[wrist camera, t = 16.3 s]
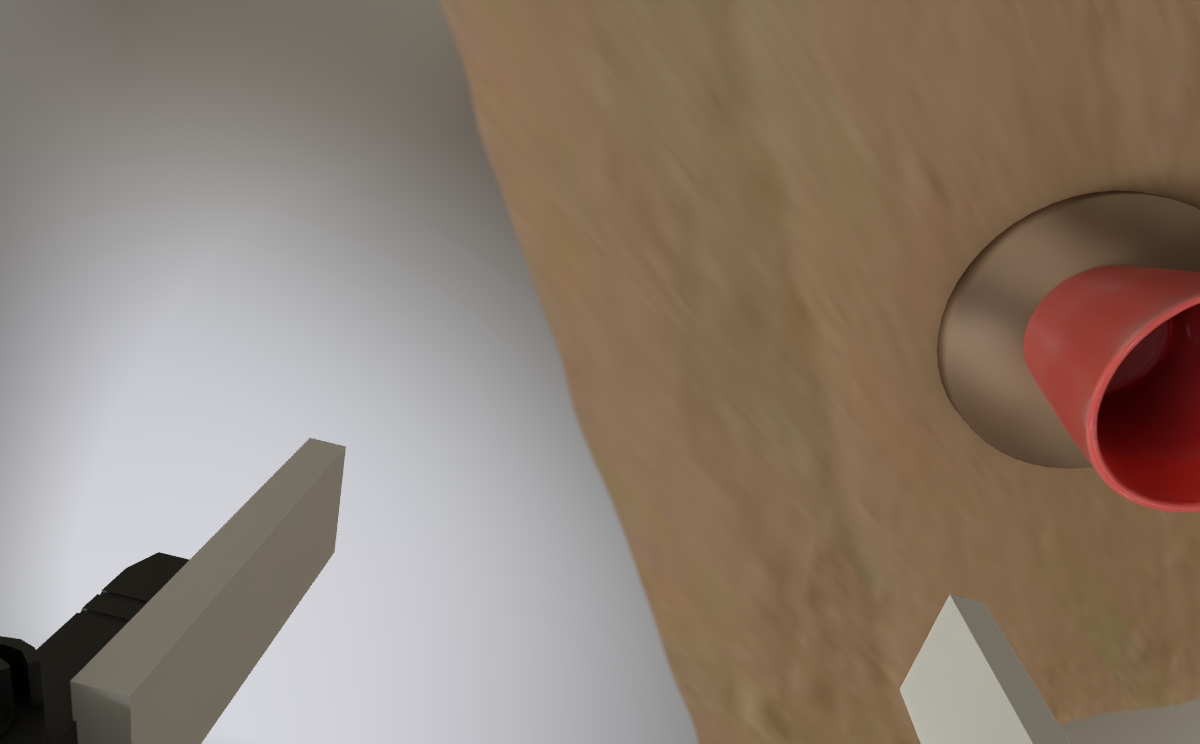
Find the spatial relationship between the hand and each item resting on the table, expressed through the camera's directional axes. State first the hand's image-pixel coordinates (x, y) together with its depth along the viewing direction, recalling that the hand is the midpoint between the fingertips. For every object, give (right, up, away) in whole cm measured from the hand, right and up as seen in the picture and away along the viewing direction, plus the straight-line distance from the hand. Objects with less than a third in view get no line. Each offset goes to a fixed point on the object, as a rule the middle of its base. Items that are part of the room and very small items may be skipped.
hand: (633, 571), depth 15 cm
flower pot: (+27, +6, +25) cm, 37 cm away
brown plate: (+27, +6, +26) cm, 38 cm away
